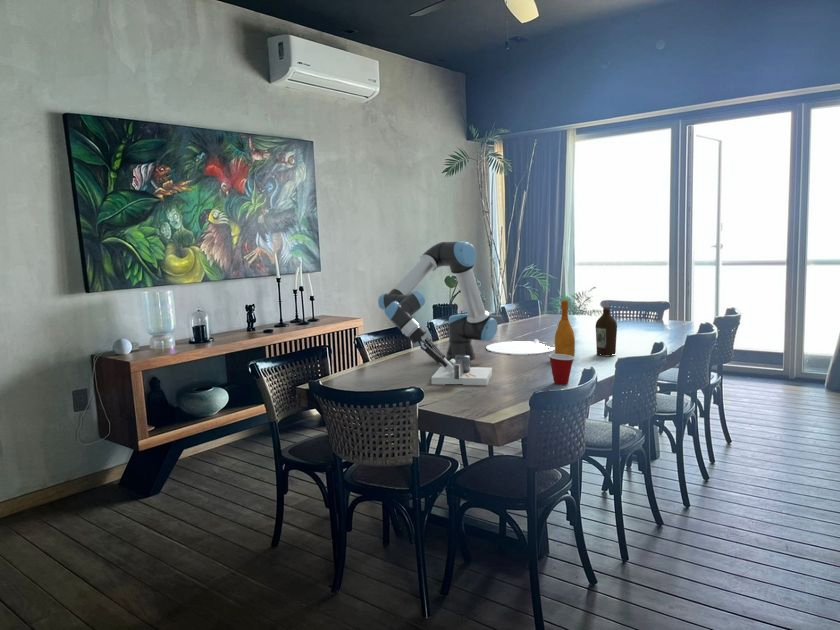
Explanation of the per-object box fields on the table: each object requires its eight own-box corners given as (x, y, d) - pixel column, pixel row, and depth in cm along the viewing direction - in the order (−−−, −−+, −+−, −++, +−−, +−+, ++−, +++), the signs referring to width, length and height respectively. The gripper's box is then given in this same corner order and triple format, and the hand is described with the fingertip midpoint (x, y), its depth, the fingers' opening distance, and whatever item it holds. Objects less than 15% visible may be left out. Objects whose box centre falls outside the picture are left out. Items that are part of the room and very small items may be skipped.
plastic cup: (575, 386, 254) (576, 358, 252) (549, 386, 255) (549, 357, 254) (573, 380, 264) (573, 353, 263) (548, 380, 266) (548, 353, 265)
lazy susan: (510, 340, 371) (510, 335, 370) (570, 346, 346) (570, 340, 345) (472, 351, 340) (472, 345, 340) (535, 358, 315) (535, 352, 315)
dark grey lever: (456, 369, 277) (456, 354, 277) (470, 369, 276) (470, 354, 275) (449, 380, 257) (448, 363, 256) (464, 380, 255) (464, 364, 255)
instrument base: (440, 373, 286) (440, 358, 285) (492, 374, 281) (491, 359, 280) (431, 384, 265) (431, 368, 264) (486, 385, 260) (486, 369, 259)
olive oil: (606, 352, 325) (606, 305, 322) (621, 355, 316) (621, 306, 313) (591, 354, 320) (591, 306, 317) (606, 357, 311) (606, 308, 308)
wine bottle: (566, 356, 315) (565, 298, 312) (578, 360, 307) (579, 300, 303) (550, 359, 311) (550, 300, 307) (563, 362, 302) (563, 301, 299)
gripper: (411, 335, 269) (449, 373, 267) (404, 339, 256) (443, 380, 254) (423, 323, 267) (461, 362, 266) (416, 327, 254) (456, 368, 253)
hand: (452, 371), depth 260 cm, fingers closed
